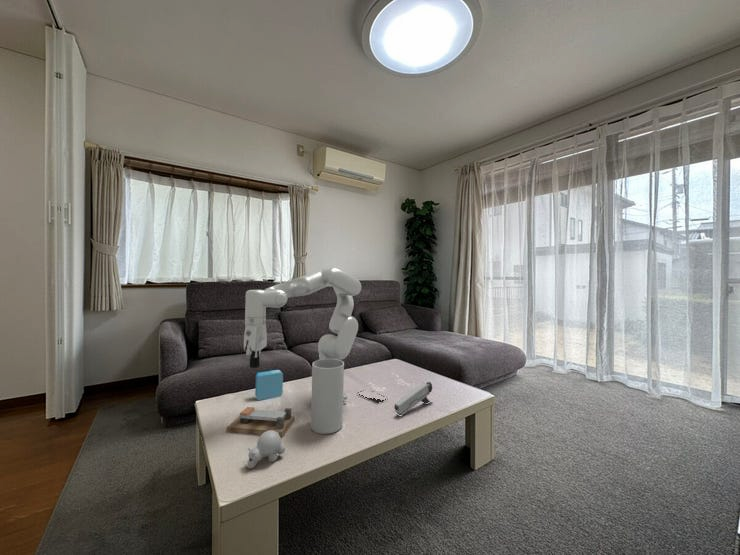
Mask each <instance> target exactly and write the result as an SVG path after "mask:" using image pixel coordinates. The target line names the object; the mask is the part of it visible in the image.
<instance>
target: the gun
mask: <svg viewBox="0 0 740 555" xmlns="http://www.w3.org/2000/svg"><path fill="white" fill-rule="evenodd" d="M432 391H433V384H432V382H431V381H428V382H423V383H421V384H420V385H419V386H417V387H416V388H415V389H413V390H412V391H410V392H409V393H408V394H407V395H404V397H402V398H401V399H400V400H398V401H397V402H395V403H394V405H393V406H394V410H395V411H394V412H396V413H397V415H398V414H399V415H402V416H404V415H405V414H406V413H407V412H409V411H410V410H411V409H413V408H414V407H415V406H416V405H417V404H419V403H420V402H422V403H423V402H424V403H428V402H430V403H431V401H430V400H429V399H428V396H429V395H430V393H431V392H432ZM424 403H423V404H424ZM403 414H404V415H403ZM399 415H398V416H399Z"/></svg>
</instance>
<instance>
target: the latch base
mask: <svg viewBox="0 0 740 555" xmlns="http://www.w3.org/2000/svg"><path fill="white" fill-rule="evenodd" d="M292 410H293V409H292V408H288V407H285V408H284V412H287V416H286V417H285V418H284V417H277V421H270V420H258V419H245V418H240V415H239V416H238V417H236V418H235V419H234V420H233V421H232V422H230V423H229V424H227V426H226V428H225V429H226V433H229V432H230V433H232V434H240V433H241V434H243V435H251V434H252V435H254V436H261V435H262V434H263V433H264V432H266V431H269V430H273V431H276V432H278V433H279V436H280V438H283V437H284V436H285V434H286V433H287V432H288V431H289V429H290V428H291V427H292V425H293V424H294V423H295V421H296V416H295V415H292ZM241 434H240V435H241Z"/></svg>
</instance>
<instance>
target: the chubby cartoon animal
mask: <svg viewBox="0 0 740 555" xmlns="http://www.w3.org/2000/svg"><path fill="white" fill-rule="evenodd" d="M281 439H282V438H281V437H280V436H279V433H278V432H276V431H273V430H269V431H266V432H264V433H263V434H262V435H259V437H258V439H257V442H256V446H255V447H253V448H251V447H248V448H247V451H249V452H248V454H247V456H248V459H247V461H244V462H243V463H244V465H245V466H246V467H247V468H248V469H254V468H255V467H256V465H257V464H258V463H259V462H260V461H261V460H262V459H263V457H265V458H268V461H269V463H274V462H276V461H277V460H278V455H283V454H284V453H285V451H286V447H285V445H284V444H282V443H281V442H282V440H281Z"/></svg>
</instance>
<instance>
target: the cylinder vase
mask: <svg viewBox="0 0 740 555" xmlns="http://www.w3.org/2000/svg"><path fill="white" fill-rule="evenodd" d="M311 368H312V369H311V399H310V400H311V402H310V404H311V405H310V406H311V407H310V427H311V429H312V432H313V431H314V432H315V433H317V434H320V435H328V434H329V435H330V434H333V433H336V432H338V431H339V430H341V428H343V420H344V419H343V418H344V416H343V415H344V414H343V413H344V399H343V393H344V385H345V384H344V382H345V381H344V380H345V362H344V361H343V360H342V359H339V360H337V359H321V360H320V359H317V360H315V361H313V362H312V365H311Z"/></svg>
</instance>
